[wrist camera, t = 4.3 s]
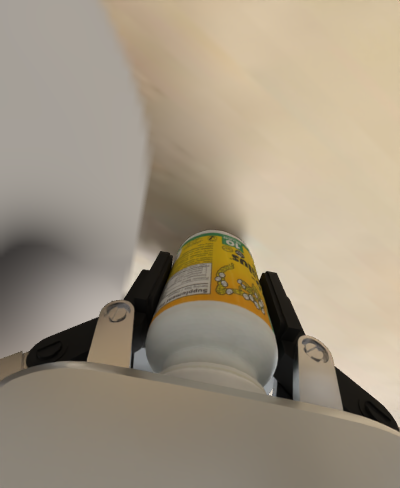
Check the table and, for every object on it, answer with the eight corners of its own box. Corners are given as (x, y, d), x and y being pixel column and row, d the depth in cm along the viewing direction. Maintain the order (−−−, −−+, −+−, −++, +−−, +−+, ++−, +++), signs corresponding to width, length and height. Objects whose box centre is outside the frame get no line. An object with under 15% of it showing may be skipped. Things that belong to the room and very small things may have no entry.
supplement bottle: (164, 245, 13) (66, 418, 5) (234, 214, 12) (270, 390, 3) (198, 297, 15) (172, 484, 7) (262, 277, 14) (329, 486, 5)
